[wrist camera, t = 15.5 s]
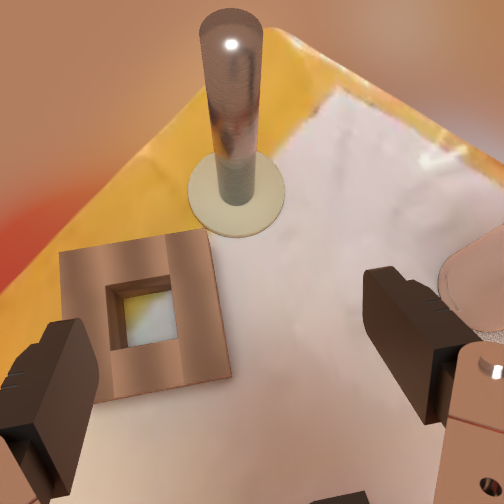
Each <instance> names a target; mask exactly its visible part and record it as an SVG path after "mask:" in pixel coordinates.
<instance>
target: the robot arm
mask: <svg viewBox="0 0 504 504" xmlns="http://www.w3.org/2000/svg"><path fill="white" fill-rule="evenodd" d="M438 288H439V293H440V297H441V299H442V301H441V299H440V298H439V297H438V296H437V295H436V294H435V293H434V292H433V291H432V290H431V289H430V288H429V287H427V286H425V285H423V284H421V283H419V282H417V281H415V280H408V281H406V280H405V279H404V277H403V276H402V275H401V274H400V273H399V272H398V271H397V270H396V269H395V268H394V267H393V266H387V267H382V268H376V269H370V270H366V271H365V272H364V276H363V323H364V327H365V330H366V332H367V335H368V336H369V338H370V340H371V341H372V343H373V344H374V346H375V348H376V349H377V351H378V352H379V354H380V355H381V357H382V359H383V360H384V362H385V363H386V365H387V367H388V368H389V370H390V371H391V373H392V375H393V376H394V378H395V379H396V381H397V383H398V384H399V386H400V387H401V389H402V390H403V392H404V394H405V395H406V397H407V398H408V400H409V402H410V403H411V405H412V406H413V408H414V410H415V411H416V413H417V414H418V416H419V417H420V419H421V421H422V422H423V424H424V425H428V424H433V423H438V422H441V423H442V424H443V426H444V427H445V429H446V431H445V437H444V443H443V448H442V454H441V460H440V466H439V472H438V478H437V484H436V490H435V496H434V502H433V504H504V345H502V344H498V343H494V342H486V341H483V340H482V339H481V338H480V337H479V336H478V335H477V334H476V333H475V332H474V331H473V330H477V331H482V332H494V331H499V330H504V224H502V225H500V226H499V227H497V228H496V229H494V230H492V231H491V232H489V233H487V234H486V235H484V236H483V237H481V238H479V239H478V240H476V241H474V242H473V243H471V244H469V245H468V246H466V247H465V248H463V249H461V250H460V251H458V252H456V253H455V254H453V255H452V256H451V257H449V258H448V259H447V261H446V262H445V263H444V264H443V266H442V268H441V270H440V274H439V278H438ZM472 329H473V330H472ZM98 383H99V367H98V362H97V359H96V356H95V353H94V351H93V348H92V345H91V342H90V340H89V337H88V334H87V331H86V329H85V326H84V323H83V322H82V320H81V319H80V318H74V319H68V320H62V321H56V322H50V323H49V324H48V325H47V327H46V329H45V331H44V333H43V335H42V337H41V339H40V341H39V343H36V344H31V345H30V346H29V347H28V348H27V349H26V350H25V351H24V352H23V353H21V354H20V355H19V356H18V357H17V358H16V360H15V361H14V363H13V365H12V367H11V369H10V371H9V372H8V377H6V378H5V380H4V382H3V384H2V385H1V390H0V504H49V503H50V499H53V498H58V497H63V496H68V495H70V492H71V488H72V484H73V480H74V476H75V472H76V469H77V465H78V461H79V457H80V453H81V449H82V445H83V441H84V438H85V434H86V430H87V426H88V422H89V418H90V414H91V410H92V407H93V403H94V399H95V395H96V391H97V387H98ZM310 504H370V503H369V501H368V498H367V496H366V493H365V491H360V492H356V493H351V494H346V495H341V496H337V497H332V498H327V499H323V500H318V501H313V502H311V503H310Z"/></svg>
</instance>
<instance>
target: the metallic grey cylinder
mask: <svg viewBox="0 0 504 504" xmlns="http://www.w3.org/2000/svg"><path fill="white" fill-rule="evenodd" d="M199 31H200V32H199V36H200V43H201V52H202V60H203V67H204V75H205V83H206V91H207V99H208V107H209V115H210V123H211V131H212V139H213V147H214V155H215V163H216V171H217V179H218V187H219V194H220V196H221V198H222V200H223V201H224V202H225V203H227V204H229V205H232V206H242V205H244V204H246V203H248V202H249V201H250V200H251V199H252V197H253V195H254V187H255V169H256V152H257V134H258V116H259V98H260V80H261V62H262V44H263V29H262V26H261V24H260V22H259V21H258V19H257V18H256V17H255V16H253V15H252V14H250V13H249V12H247V11H244V10H241V9H235V8H226V9H221V10H218V11H216V12H213V13H212V14H210V15H209V16H207V17H206V18H205V20H204V21H203V22H202V24H201V27H200V30H199Z"/></svg>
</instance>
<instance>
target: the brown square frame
mask: <svg viewBox="0 0 504 504" xmlns="http://www.w3.org/2000/svg"><path fill="white" fill-rule="evenodd" d="M59 264H60V284H61V305H62V320H68V319H74V318H80V319H81V320H82V322H83V323H84V326H85V329H86V331H87V334H88V337H89V340H90V342H91V345H92V348H93V351H94V353H95V356H96V359H97V362H98V367H99V383H98V387H97V391H96V395H95V399H94V403H93V404H96V403H101V402H106V401H111V400H116V399H122V398H127V397H132V396H137V395H142V394H147V393H152V392H157V391H162V390H168V389H173V388H178V387H183V386H188V385H193V384H198V383H203V382H209V381H214V380H219V379H224V378H229V377H232V374H231V368H230V362H229V356H228V350H227V344H226V338H225V332H224V326H223V320H222V314H221V308H220V302H219V296H218V290H217V284H216V278H215V272H214V266H213V260H212V254H211V248H210V244H209V240H208V235H207V231H206V228H202V229H196V230H190V231H184V232H178V233H172V234H166V235H160V236H154V237H148V238H142V239H136V240H130V241H124V242H118V243H112V244H106V245H100V246H94V247H88V248H82V249H76V250H70V251H65V252H59ZM168 290H172V295H173V303H174V311H175V318H176V326H177V333H178V339H173V340H167V341H162V342H156V343H151V344H146V345H140V346H135V347H130V348H128V345H127V335H126V324H125V314H124V303H123V298H128V297H134V296H140V295H145V294H151V293H156V292H162V291H168Z"/></svg>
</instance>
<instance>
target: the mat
mask: <svg viewBox="0 0 504 504" xmlns="http://www.w3.org/2000/svg"><path fill="white" fill-rule="evenodd" d="M284 195H285V186H284V181H283V178H282V175H281V173H280V171H279V169H278V168H277V166H276V165H275V164H274V163H273V161H271V160H270V159H269V158H268V157H267V156H265V155H264V154H262V153H260V152H258V151H257V152H256V169H255V187H254V195H253V197H252V199H251V200H250V201H249V202H248V203H246V204H244V205H242V206H232V205H229V204H227V203H225V202H224V201H223V200H222V198H221V196H220V194H219V187H218V179H217V171H216V163H215V155H214V152H213V153H211V154H209V155H208V156H206V157H205V158H204V159H202V160H201V161H200V162H199V163H198V165H197V166H196V167H195V169H194V170H193V172H192V174H191V177H190V179H189V184H188V198H189V202H190V206H191V208H192V211H193V213H194V215H195V217H196V218H197V219H198V221H199V222H200V223H201V224H202V225H203V226H204V227H206V228H207V229H208V230H210V231H212V232H214V233H216V234H218V235H221V236H225V237H231V238H241V237H247V236H252V235H254V234H257V233H259V232H261V231H263V230H264V229H266V228H267V227H268V226H269V225H271V224H272V223H273V221H274V220H275V219H276V218H277V216H278V214H279V213H280V210H281V208H282V205H283V201H284Z"/></svg>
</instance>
